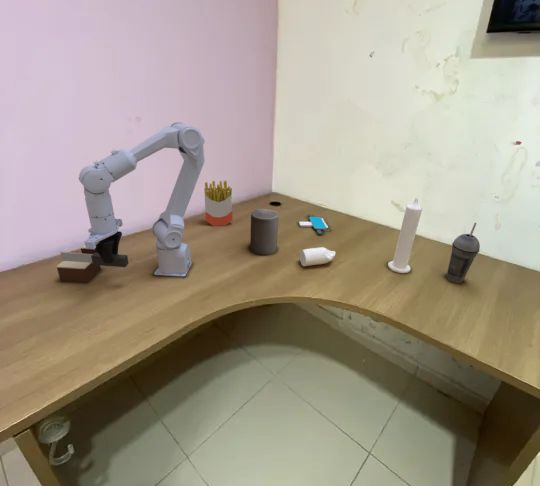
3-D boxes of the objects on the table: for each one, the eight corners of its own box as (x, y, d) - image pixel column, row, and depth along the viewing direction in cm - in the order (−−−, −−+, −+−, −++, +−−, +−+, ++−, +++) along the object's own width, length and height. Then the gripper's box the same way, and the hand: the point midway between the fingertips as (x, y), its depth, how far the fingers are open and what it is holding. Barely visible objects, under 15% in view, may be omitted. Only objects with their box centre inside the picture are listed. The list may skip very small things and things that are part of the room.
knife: (128, 263, 86) (127, 254, 85) (125, 267, 84) (123, 258, 83) (65, 258, 86) (63, 250, 85) (60, 262, 85) (58, 253, 83)
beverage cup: (464, 275, 101) (485, 219, 92) (469, 287, 95) (492, 228, 86) (440, 270, 103) (458, 215, 94) (443, 282, 97) (463, 224, 88)
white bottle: (338, 265, 103) (340, 251, 101) (304, 269, 100) (306, 254, 98) (330, 257, 108) (332, 242, 106) (298, 260, 105) (299, 245, 103)
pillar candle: (245, 251, 109) (245, 212, 103) (256, 240, 118) (257, 203, 111) (271, 257, 106) (273, 217, 100) (280, 245, 114) (283, 207, 108)
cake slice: (112, 258, 102) (110, 244, 100) (108, 262, 99) (105, 248, 97) (88, 256, 102) (85, 243, 100) (83, 261, 99) (80, 247, 97)
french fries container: (232, 225, 129) (232, 183, 122) (206, 226, 127) (204, 183, 120) (231, 221, 133) (231, 180, 126) (206, 221, 131) (204, 180, 124)
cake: (101, 269, 95) (97, 255, 93) (88, 282, 89) (84, 268, 87) (75, 268, 95) (71, 254, 93) (60, 281, 89) (56, 266, 87)
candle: (410, 265, 105) (429, 195, 95) (409, 275, 99) (429, 202, 89) (388, 260, 108) (405, 191, 97) (386, 270, 102) (403, 198, 91)
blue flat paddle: (296, 216, 142) (296, 212, 141) (321, 216, 143) (321, 212, 142) (303, 235, 124) (304, 231, 123) (332, 235, 125) (333, 231, 124)
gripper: (101, 203, 86) (110, 246, 91) (67, 224, 72) (80, 273, 78) (126, 204, 85) (133, 248, 91) (97, 226, 72) (107, 275, 78)
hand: (110, 259), depth 85 cm, fingers closed on knife, 2 cm apart
